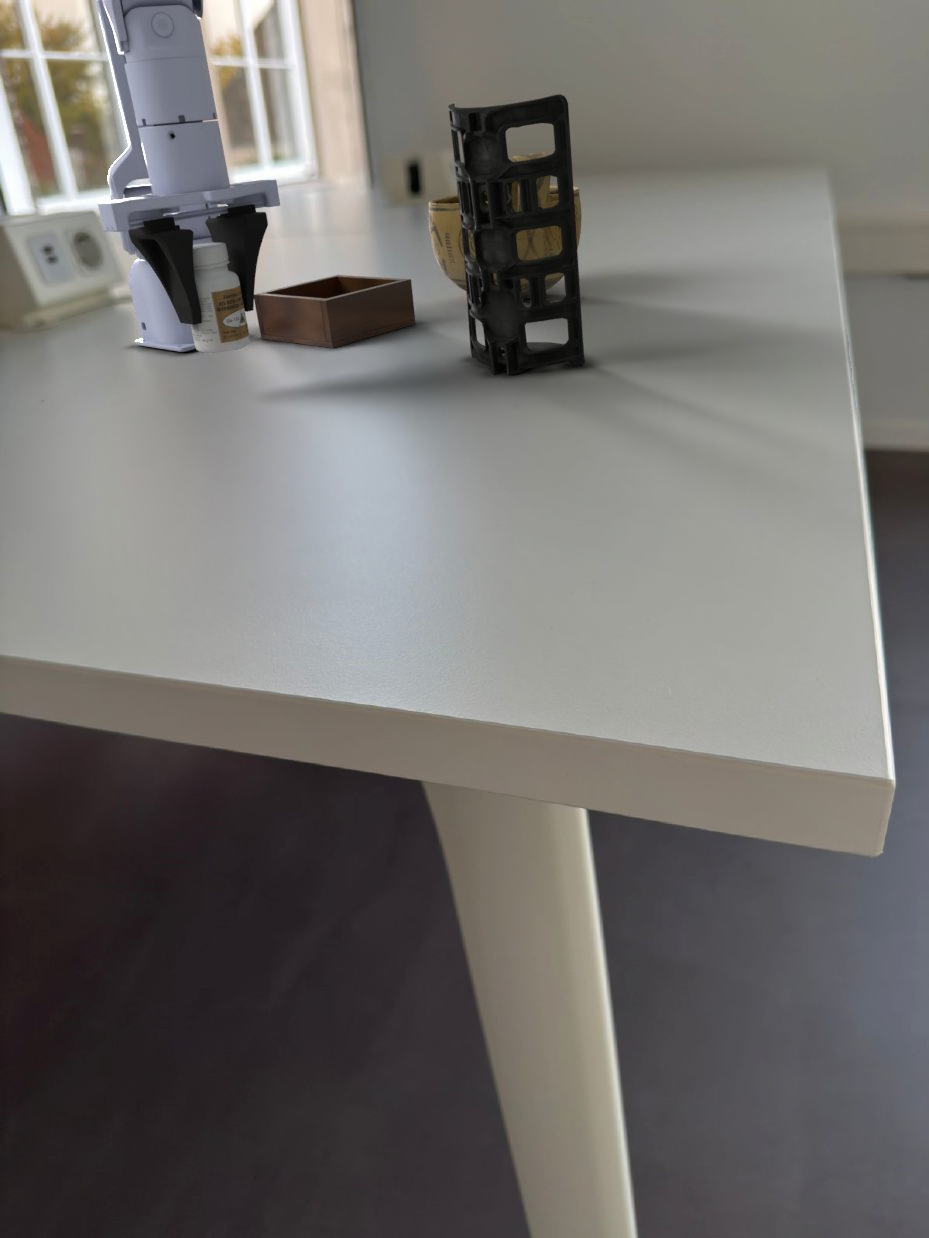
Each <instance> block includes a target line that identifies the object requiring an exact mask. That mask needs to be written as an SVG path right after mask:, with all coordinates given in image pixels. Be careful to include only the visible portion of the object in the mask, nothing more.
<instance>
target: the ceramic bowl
mask: <svg viewBox="0 0 929 1238" xmlns="http://www.w3.org/2000/svg"><path fill="white" fill-rule="evenodd" d="M545 156H548V154H547V152H542V151H541V152H533V153H527V154H519V155H514V156H513V157H512V158H511V159H510V160H511V161H512V162H516V161H524V160H530V159H536V158H541V157H545ZM536 185H537V197H538V204H539V207H542V208H549V207H553V206H555V205H556V204H557V203H558V202H559V197H558V185H551V176H544V177H540V178H538V179H537V182H536ZM573 188H574V204H575V220H576V236H577V250H578V249H579V246H580V239H581V233H582V204H581V195H580V189H579V187H578V186H574V185H573ZM485 201H486V203H487V204H488V200H487V193H486V192H485ZM512 202H513V209H514V211H515V212H519V211H521V200H520V189H519V183H518V182H517V181H516V182H512ZM428 230H429V236H430V243H431V247H432V251H433V255H434V257H435V260H436V262H437V264H438V267H439V268H440V269H441V271H442V273H443V275H444V276H445V277H446V278H447V279H448V280H449V281H451V282H452V283H453V284H454V285H455V286H457V288H460V290H463V291H465V292H467V290H466V276H465V263H464V251H463V240H462V229H461V219H460V209H459V200H458V194H455V195H447V196H442V197H437V198H434V199H431V200H429V201H428ZM468 236H469V246H470V256H471V257H473V258H476V257H475V249H474V241H473V234H472V232H471V231H470V230H468ZM516 241H517V251H518V257H519V259H521V260H523V261H524V260H533V259H539V258H545V257H549V256H554V255H558V254H559V253H560V252H561V250H562V239H561V228H560V227H558V226H550V227H546V228H538V229H531V230H523V231H520V232H518V233H517V234H516ZM493 275H494V281H495V284H497V279H496V274H495V273H493ZM563 278H564V274H562V273H554V274H549V275H547V276H546V277H545V289H546V292H547V291H549V289H551V288H553V287H554V286H555V285H556V284H557V283H559V281H561V280H562V279H563ZM520 280H521V292H522V300H526V299H530V291H529V281H528V280H526V279H524V278H522V279H520ZM477 281H478V280H477ZM478 291H479V287H478ZM479 298H480V295H479Z"/></svg>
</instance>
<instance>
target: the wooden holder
mask: <svg viewBox="0 0 929 1238" xmlns="http://www.w3.org/2000/svg"><path fill="white" fill-rule="evenodd" d="M412 285H413V284H412V279H411V278H396V277H381V276H379V277H378V276H366V275H365V276H363V275H347V274H346V275H345V274H344V275H343V274H336V275H331V276H327V277H322V278H317V279H314V280H310V281H305V282H300V283H296V284H293V285H287V286H283V287H278V288H275V289H271V290H266V291H261V292H258V293H254V307H255V313H256V317H257V323H258V328H259V335H260V338H261V339H262V340H268V341H269V340H270V341H276V342H285V343H292V344H300V345H308V346H314V347H321V348H329V349H334V348H338V347H341V346H345V345H348V344H351V343H355V342H358V341H361V340H366V339H368V338H372V337H376V336H379V335H383V334H386V333H388V332H392V331H395V330H400V329H402V328H406V327H409V326H412V325H416V323H417V322H416V312H415V303H414V295H413V294H414V293H413V286H412Z"/></svg>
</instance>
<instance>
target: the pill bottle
mask: <svg viewBox="0 0 929 1238" xmlns="http://www.w3.org/2000/svg"><path fill="white" fill-rule="evenodd" d="M228 258H229V257H228V252H227V248H226V244H225V243H204V244H196V245H193V265H194V276H195V283H196V288H197V292H198V297H199V302H200V307H201V316H202V323H200V324H195V325H192V324H190V325H191V329H192V334H193V339H194V343H195V347H196V349H195V350H196V351H198V352H200V353H203V354H205V353H206V354H214V353H215V354H216V353H224V352H231V351H235V350H240V349H243V348H245V347H247V346H248V345H249V344H250V342H251V337H250V331H249V327H248V326H249V325H248V321H247V316H246V312H245V309H244V303H243V299H242V292H241V287H240V282H239V278H238V276H237V275H236V274H235V273H234V272H232V271H229V270H228V266H227V264H228V263H229V261H228Z"/></svg>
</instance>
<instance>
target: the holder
mask: <svg viewBox="0 0 929 1238" xmlns="http://www.w3.org/2000/svg"><path fill="white" fill-rule="evenodd" d="M447 109H448V117H449V126H450V133H451V134H450V135H451V142H452V151H453V152H452V153H453V160H454V161H453V162H454V169H455V170H454V172H455V181H456V188H457V195H458V200H459V209H460V219H461V229H462V240H463V251H464V263H465V276H466V290H467V291H466V305H467V318H468V319H467V321H468V336H469V348H470V354H471V357H472V359H474V360H475V361H476V362H478V364H479V363H480V364H482V365H483V366H486V367H489V369H490V372H491V373H492V375H497V374H498V373H500V372H502V371H506V375H507V376H515V375H518V374H521V373H523V372H525V371H527V370H528V369H532V368H533V369H534V368H542V367H549V366H550V367H551V366H555V365H559V364H563V363H569V364H571V365H576V364H581V365H582V366H584V365H585V364H586V359H585V347H584V336H583V335H584V334H583V319H582V318H583V317H582V304H581V303H582V301H581V286H580V271H579V270H580V269H579V255H578V249H577V236H576V220H575V204H574V188H573V186H574V176H573V175H574V174H573V159H572V143H571V128H570V113H569V111H570V110H569V109H570V108H569V102H568V99H567V97H566V96H565V95H564V94H561V93H560V94H553V95H549V96H545V97H539V98H535V99H530V100H524V101H519V102H513V103H506V104H498V105H489V106H480V107H479V106H478V107H477V106H475V107H457V106H455V103H451V104H449V105H448V106H447ZM537 124H548V125H552V126H553V128H552V129H553V141H554V151H553V152H552V153H551V154H547V156H545V157H541V158H536V159H530V160H524V161H516V162H512V161H511V159H510V158H509V153H508V144H507V134H506V133H507V131H508V130H509V129H512V128H513V129H514V128H515V129H517V128H522V127H526V126H531V125H532V126H533V125H537ZM458 132H459V133H458ZM459 134H460V139H461V147H462V155H463V162H462V160H461V150H460V143H459ZM544 176H550V177H555V178H556V183H557V184H556V186H558V197H559V202H558V203H557V204H556V205H555V206H553V207H549V208H542V207H539V204H538V197H537V185H536V182H537V179H538V178H540V177H544ZM516 181H517V182H518V183H519V189H520V200H521V211H519V212H515V211H514V209H513V202H512V182H516ZM485 192H486V193H487V200H488V204H487V203H486V201H485ZM550 226H558V227H560V228H561V239H562V250H561V252H560V253H559V254H558V255H554V256H549V257H545V258H539V259H533V260H524V261H523V260H521V259H519V257H518V251H517V241H516V234H517V233H518V232H520V231H523V230H531V229H538V228H546V227H550ZM468 230H470V231H471V232H472V234H473V241H474V249H475V257H476V258H473V257H471V256H470V246H469V236H468ZM493 273H495V274H496V279H497V284H495V281H494V275H493ZM554 273H562V274H564V276H563V281H564V282H563V283H564V293H565V296H564V297H563V298H561V299H559V300H556V301H549V300H548V299H547V293H546V292H547V291H546V289H545V277H546V276H547V275H549V274H554ZM522 278H524V279H526V280H528V281H529V291H530V298H529V300H530V304H529V305H525V304H524V302H523V299H522V292H521V280H520V279H522ZM477 280H478V281H477ZM478 287H479V291H478ZM479 295H480V297H479ZM559 319H560V320H561V319H562V320H563V319H564V320H566V323H567V338H568V339H567V341H566V342H565V343H559V342H551V341H550V342H549V341H527V330H526V325H527V324H531V323H532V324H533V323H539V322H546V321H552V320H559ZM476 320H478V321H479V322H480V323H481V325H482V330H483V338H484V344H482V343H481V342H479V341H478V336H477V323H476V322H477V321H476Z"/></svg>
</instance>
